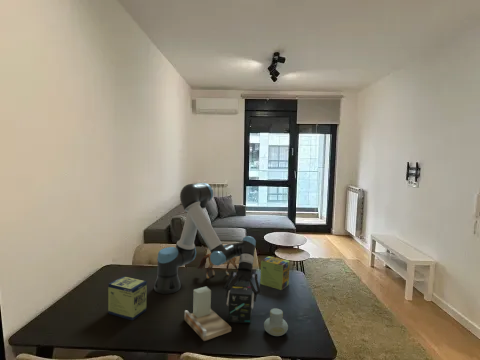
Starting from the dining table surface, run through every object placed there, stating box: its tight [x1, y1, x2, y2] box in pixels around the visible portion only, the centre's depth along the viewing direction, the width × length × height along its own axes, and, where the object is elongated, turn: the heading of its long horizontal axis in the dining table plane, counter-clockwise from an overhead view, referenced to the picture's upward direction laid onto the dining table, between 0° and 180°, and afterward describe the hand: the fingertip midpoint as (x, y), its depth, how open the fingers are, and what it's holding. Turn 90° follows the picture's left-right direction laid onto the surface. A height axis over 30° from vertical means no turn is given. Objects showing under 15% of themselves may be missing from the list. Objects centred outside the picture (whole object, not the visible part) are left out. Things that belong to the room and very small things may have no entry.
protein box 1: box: [107, 276, 148, 321], centre depth 151 cm, size 10×16×16 cm
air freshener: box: [263, 307, 289, 337], centre depth 138 cm, size 11×8×10 cm
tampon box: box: [227, 285, 253, 324], centre depth 149 cm, size 11×9×15 cm
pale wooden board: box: [184, 309, 232, 342], centre depth 142 cm, size 20×14×4 cm
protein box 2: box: [259, 256, 291, 291], centre depth 189 cm, size 10×15×16 cm
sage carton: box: [192, 286, 212, 318], centre depth 148 cm, size 5×7×12 cm
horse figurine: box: [196, 252, 238, 279], centre depth 199 cm, size 31×8×21 cm, turn 102°
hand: (239, 306), depth 146 cm, fingers closed on tampon box, 11 cm apart
